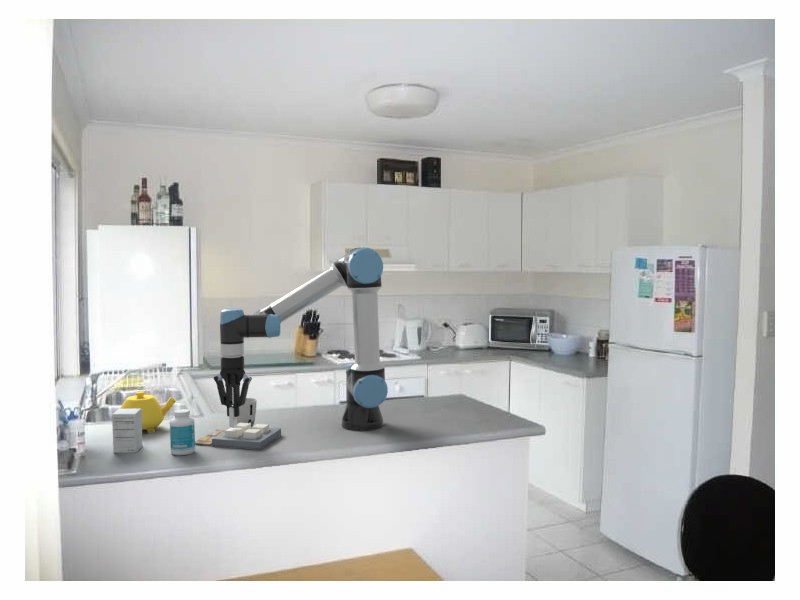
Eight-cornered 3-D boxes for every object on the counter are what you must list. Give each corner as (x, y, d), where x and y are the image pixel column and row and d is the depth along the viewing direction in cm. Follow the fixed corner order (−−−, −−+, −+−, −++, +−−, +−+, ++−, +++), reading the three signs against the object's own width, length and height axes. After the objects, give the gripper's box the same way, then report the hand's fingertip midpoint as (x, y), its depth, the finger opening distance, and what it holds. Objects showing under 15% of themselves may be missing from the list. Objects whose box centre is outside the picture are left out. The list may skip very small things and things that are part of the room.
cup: (251, 431, 245) (250, 403, 244) (230, 430, 247) (229, 402, 246) (260, 425, 253) (260, 398, 252) (239, 424, 254) (239, 397, 254)
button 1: (242, 435, 232) (242, 428, 232) (236, 439, 228) (236, 431, 228) (231, 435, 233) (230, 427, 233) (225, 438, 229) (224, 430, 229)
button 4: (268, 432, 237) (268, 424, 237) (263, 435, 233) (263, 427, 233) (257, 431, 238) (257, 423, 238) (252, 434, 234) (252, 426, 234)
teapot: (175, 421, 258) (174, 385, 257) (178, 432, 244) (177, 393, 243) (117, 426, 251) (116, 389, 250) (117, 438, 237) (115, 398, 236)
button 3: (260, 437, 231) (260, 429, 231) (255, 440, 227) (255, 432, 226) (249, 436, 232) (249, 428, 231) (243, 439, 228) (243, 432, 227)
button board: (281, 435, 240) (281, 428, 239) (260, 449, 223) (260, 442, 223) (235, 432, 243) (235, 425, 243) (212, 446, 227) (211, 438, 227)
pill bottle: (198, 453, 219) (197, 411, 218) (174, 457, 215) (173, 414, 214) (191, 447, 225) (190, 406, 224) (167, 451, 221) (166, 409, 220)
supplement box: (119, 446, 227) (118, 408, 226) (143, 445, 227) (142, 407, 226) (112, 453, 219) (111, 413, 218) (136, 452, 220) (135, 413, 219)
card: (233, 432, 244) (233, 430, 244) (209, 446, 227) (209, 443, 227) (217, 431, 245) (217, 429, 245) (192, 444, 229) (192, 442, 229)
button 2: (251, 430, 239) (251, 423, 238) (245, 434, 235) (245, 426, 234) (239, 430, 240) (239, 422, 239) (234, 433, 236) (234, 425, 235)
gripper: (255, 354, 231) (256, 424, 233) (219, 353, 234) (220, 422, 235) (245, 358, 223) (246, 430, 225) (208, 356, 226) (209, 427, 228)
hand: (233, 426), depth 230 cm, fingers closed
